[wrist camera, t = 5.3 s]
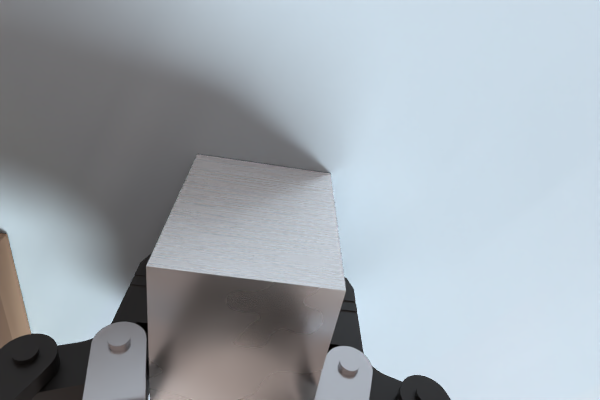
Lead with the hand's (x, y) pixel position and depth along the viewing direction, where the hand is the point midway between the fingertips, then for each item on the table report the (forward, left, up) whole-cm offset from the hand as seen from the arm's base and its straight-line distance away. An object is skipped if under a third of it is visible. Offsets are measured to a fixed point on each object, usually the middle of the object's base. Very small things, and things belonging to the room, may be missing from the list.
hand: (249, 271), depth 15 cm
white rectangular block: (0, 0, 0) cm, 0 cm away
